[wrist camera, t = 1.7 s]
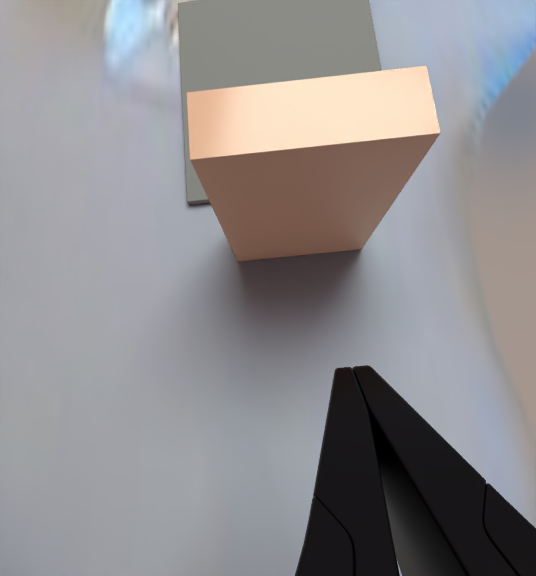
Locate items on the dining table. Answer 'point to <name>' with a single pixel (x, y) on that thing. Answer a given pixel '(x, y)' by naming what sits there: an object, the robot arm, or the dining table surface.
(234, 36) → the mat
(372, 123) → the tile
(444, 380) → the dining table surface
